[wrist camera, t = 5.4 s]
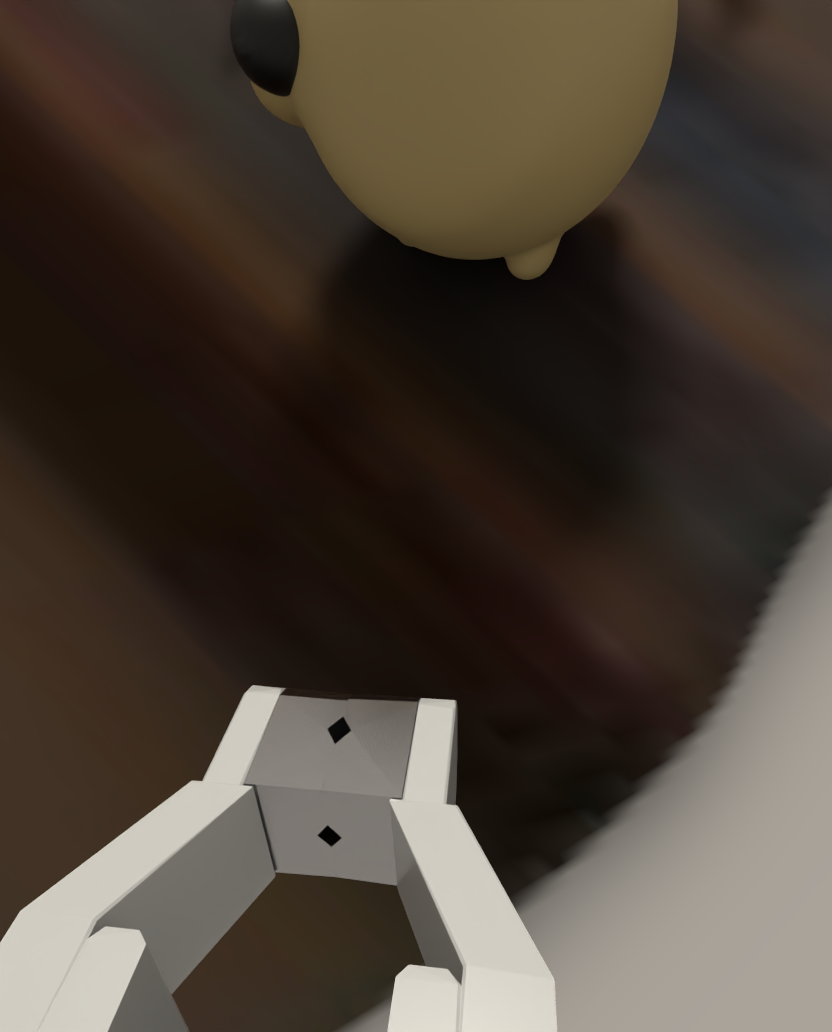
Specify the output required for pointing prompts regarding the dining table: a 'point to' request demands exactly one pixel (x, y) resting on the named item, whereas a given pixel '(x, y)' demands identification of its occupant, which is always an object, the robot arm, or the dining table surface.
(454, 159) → the yellow animal toy
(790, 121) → the dining table surface
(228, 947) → the dining table surface
